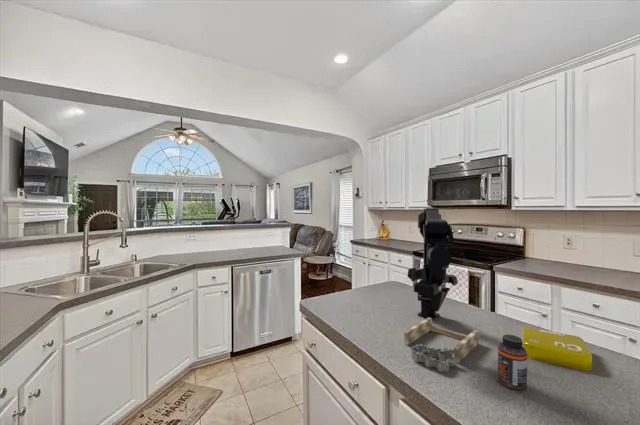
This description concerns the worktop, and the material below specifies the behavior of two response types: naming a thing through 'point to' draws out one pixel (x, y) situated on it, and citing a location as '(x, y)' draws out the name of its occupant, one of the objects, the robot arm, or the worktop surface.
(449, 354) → the egg carton
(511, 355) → the supplement bottle
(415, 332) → the open wooden frame
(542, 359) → the element tile
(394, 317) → the worktop surface
